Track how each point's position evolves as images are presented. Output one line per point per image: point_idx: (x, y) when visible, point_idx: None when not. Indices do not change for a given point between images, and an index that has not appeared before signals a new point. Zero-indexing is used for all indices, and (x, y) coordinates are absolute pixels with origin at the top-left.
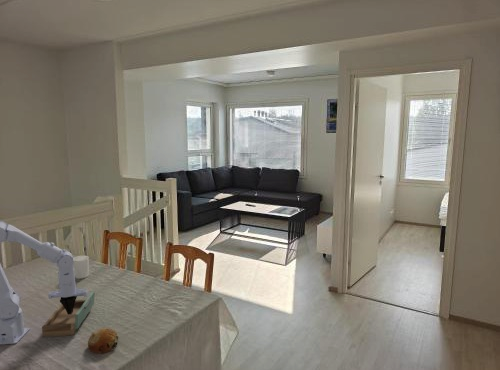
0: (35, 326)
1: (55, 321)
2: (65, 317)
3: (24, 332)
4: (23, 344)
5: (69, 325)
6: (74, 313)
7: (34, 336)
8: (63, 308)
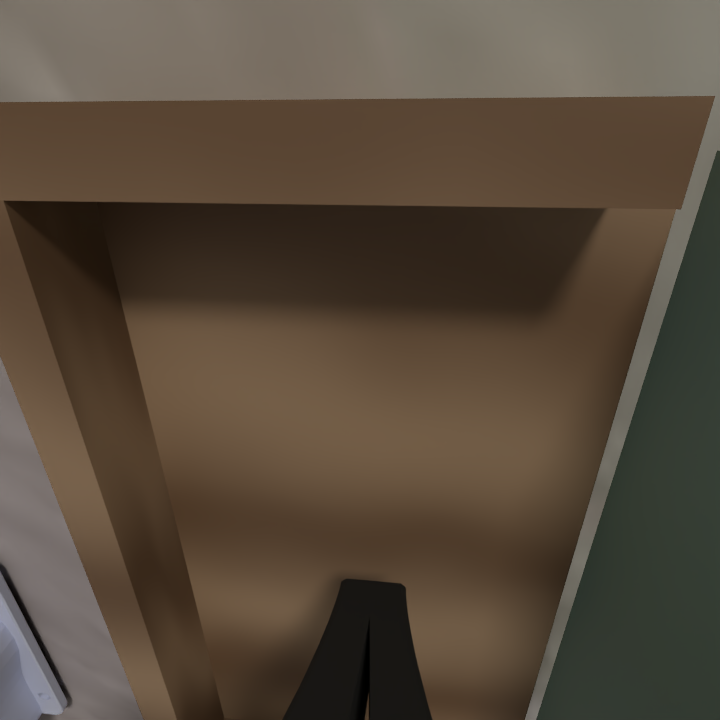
0: (14, 521)
1: (220, 613)
2: (306, 557)
3: (7, 626)
4: (131, 713)
5: None
6: (405, 486)
7: None
8: (112, 324)
